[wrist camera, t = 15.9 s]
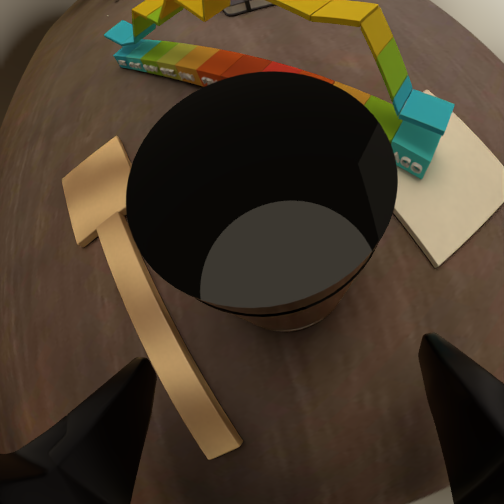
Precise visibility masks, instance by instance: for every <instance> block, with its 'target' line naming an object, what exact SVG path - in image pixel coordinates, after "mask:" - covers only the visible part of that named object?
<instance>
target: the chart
mask: <svg viewBox="0 0 504 504" xmlns="http://www.w3.org/2000/svg"><path fill="white" fill-rule="evenodd" d="M265 1H268V2H270V3H272V4H275V5H277V6H279V7H282V8H284V9H286V10H288V11H290V12H292V13H295V14H297V15H299V16H301V17H303V18H305V19H307V20H309V21H311V22H322V23H332V24H340V25H348V26H355V27H360V26H361V31H362V33H363V35H364V37H365V39H366V41H367V44H368V46H369V48H370V50H371V52H372V54H373V57H374V59H375V61H377V62H376V63H377V66H378V68H379V70H380V73H381V75H382V77H383V80H384V82H385V85H386V87H387V90H388V93H389V95H390V98H391V101H392V102H393V105H392V104H390V103H388V102H386V101H384V100H381V99H379V98H377V97H374V96H372V95H369V94H367V93H364V92H362V91H359V90H357V89H354V88H352V87H349V86H347V85H344V84H342V83H339V82H335V81H333V80H331V79H328V78H325V77H322V76H319V75H316V74H313V73H310V72H307V71H304V70H301V69H298V68H294V67H291V66H287V65H284V64H280V63H277V62H273V61H269V60H266V59H262V58H258V57H253V56H249V55H244V54H240V53H236V52H231V51H226V50H221V49H215V48H209V47H204V46H197V45H191V44H183V43H175V42H167V41H157V40H145V39H143V38H144V37H145V36H146V35H148V34H149V33H150V32H152V31H153V30H154V29H155V28H156V25H158V26H160V25H161V24H163V23H164V22H165V21H167V20H168V19H170V18H171V17H173V16H174V15H175V14H177V13H178V12H180V11H181V10H183V8H185V9H187V10H188V11H189V12H191V13H192V14H194V15H195V16H197V17H198V18H199V19H201V20H202V21H203V22H204V21H205V22H206V21H207V20H209V19H210V18H212V17H213V16H214V15H216V14H217V13H219V12H220V11H222V10H223V9H225V8H227V7H228V6H230V0H145V1H144V2H142V3H141V4H139V5H138V6H136V7H135V8H133V9H132V24H130V23H128V22H126V21H124V20H122V21H121V22H119V23H118V24H117V25H115V26H114V27H113V28H112V29H110V30H109V31H108V32H106V33H105V34H104V36H105V37H106V38H108V39H110V40H112V41H114V42H115V43H117V44H119V45H121V46H124V47H122V48H121V49H120V50H119V51H118V52H117V53H115V54H114V55H113V56H114V57H115V59H116V60H117V62H118V63H119V65H120V66H121V67H122V68H128V69H134V70H138V71H143V72H148V73H152V74H157V75H161V76H165V77H169V78H173V79H177V80H181V81H185V82H189V83H193V84H196V85H200V86H203V87H205V86H207V85H210V84H212V83H214V82H217V81H220V80H223V79H226V78H229V77H233V76H237V75H241V74H247V73H254V72H267V71H278V72H291V73H297V74H303V75H307V76H311V77H315V78H318V79H321V80H323V81H326V82H328V83H331V84H333V85H335V86H337V87H339V88H341V89H342V90H344V91H346V92H347V93H349V94H350V95H352V96H353V97H354V98H356V99H357V100H358V101H360V102H361V103H362V104H363V105H364V106H365V107H366V108H367V109H368V110H369V111H370V112H371V113H372V114H373V115H374V117H375V118H376V119H377V121H378V122H379V123H380V125H381V126H382V128H383V130H384V131H385V133H386V135H387V137H388V139H389V141H390V144H391V146H392V149H393V152H394V156H395V160H396V165H397V166H399V167H400V168H402V169H404V170H406V171H408V172H409V173H411V174H413V175H415V176H416V177H418V178H420V179H421V180H422V178H423V177H424V175H425V173H426V171H427V169H428V167H429V165H430V163H431V160H432V158H433V156H434V153H435V151H436V148H437V146H438V143H439V141H440V138H441V136H443V135H444V133H445V130H446V128H447V125H448V122H449V119H450V117H451V114H452V111H453V108H454V105H455V104H452V103H450V102H447V101H445V100H442V99H440V98H437V97H434V96H432V95H429V94H426V93H423V92H420V91H417V90H414V89H413V91H412V85H411V82H410V79H409V76H407V75H408V73H407V71H406V68H405V65H404V62H403V60H402V57H401V55H400V52H399V49H398V47H397V45H396V42H395V40H394V37H393V35H392V33H391V30H390V28H389V26H388V24H387V21H386V19H385V17H384V15H383V13H382V11H381V9H380V7H379V8H378V4H373V3H365V2H357V1H347V0H265ZM411 92H412V93H411ZM407 99H408V100H407ZM406 101H407V102H406ZM402 108H403V109H402Z"/></svg>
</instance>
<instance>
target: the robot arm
mask: <svg viewBox="0 0 504 504" xmlns="http://www.w3.org/2000/svg"><path fill="white" fill-rule="evenodd" d="M418 357H419V362H420V367H421V371H422V376H423V381H424V386H425V391H426V395H427V400H428V403H429V406H430V410H431V413H432V416H433V420H434V423H435V426H436V430H437V433H438V437H439V441H440V444H441V448H442V452H443V456H444V460H445V464H446V469H447V473H448V477H449V482H450V487H451V492H452V497H453V502H454V504H504V384H503V383H502V382H501V381H500V380H498V379H497V378H496V377H494V376H493V375H492V374H490V373H489V372H488V371H487V370H485V369H484V368H483V367H481V366H480V365H479V364H477V363H476V362H475V361H473V360H472V359H471V358H469V357H468V356H467V355H465V354H464V353H463V352H461V351H460V350H459V349H457V348H456V347H455V346H453V345H452V344H451V343H449V342H448V341H447V340H445V339H444V338H442V337H441V336H440V335H438V334H437V333H434V332H433V333H428V334H425V335H423V337H422V341H421V345H420V349H419V354H418ZM156 381H157V376H156V373H155V371H154V369H153V367H152V365H151V363H150V361H149V360H148V359H147V358H142V357H137V358H135V359H133V360H132V361H131V362H130V363H129V364H127V365H126V366H125V367H124V368H123V369H121V370H120V371H119V372H118V373H117V374H115V375H114V376H113V377H112V378H111V379H109V380H108V381H107V382H106V383H105V384H103V385H102V386H101V387H100V388H99V389H97V390H96V391H95V392H94V393H93V394H91V395H90V396H89V397H88V398H87V399H85V400H84V401H83V402H82V403H81V404H79V405H78V406H77V407H76V408H75V409H73V410H72V411H71V412H70V413H69V414H68V415H67V416H65V417H64V418H62V419H61V420H60V421H59V422H58V423H56V424H55V425H54V426H52V427H51V428H50V429H49V430H47V431H46V432H44V433H43V434H42V435H40V436H39V437H37V438H36V439H34V440H33V441H31V442H30V443H28V444H27V445H25V446H24V447H22V448H21V449H19V450H17V451H15V452H13V453H9V454H0V504H130V502H131V498H132V493H133V489H134V484H135V480H136V475H137V471H138V467H139V463H140V459H141V454H142V450H143V446H144V442H145V438H146V434H147V430H148V426H149V423H150V418H151V413H152V407H153V400H154V393H155V387H156Z"/></svg>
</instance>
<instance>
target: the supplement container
mask: <svg viewBox="0 0 504 504" xmlns="http://www.w3.org/2000/svg"><path fill="white" fill-rule="evenodd" d="M397 187H398V175H397V166H396V160H395V156H394V152H393V149H392V146H391V144H390V141H389V139H388V137H387V135H386V133H385V131H384V130H383V128H382V126H381V125H380V123H379V122H378V121H377V119H376V118H375V117H374V115H373V114H372V113H371V112H370V111H369V110H368V109H367V108H366V107H365V106H364V105H363V104H362V103H361V102H360V101H358V100H357V99H356V98H354V97H353V96H352V95H350V94H349V93H347V92H346V91H344V90H342V89H341V88H339V87H337V86H335V85H333V84H331V83H328V82H326V81H323V80H321V79H318V78H315V77H311V76H307V75H303V74H297V73H291V72H278V71H267V72H254V73H247V74H241V75H237V76H233V77H229V78H226V79H223V80H220V81H217V82H214V83H212V84H210V85H207V86H205V87H203V88H201V89H199V90H197V91H196V92H194V93H192V94H191V95H189V96H187V97H186V98H184V99H183V100H181V101H180V102H179V103H177V104H176V105H175V106H174V107H172V108H171V109H170V110H169V111H168V112H167V113H166V114H165V115H164V116H163V117H162V118H161V119H160V120H159V121H158V122H157V123H156V124H155V125H154V127H153V128H152V129H151V130H150V132H149V133H148V135H147V136H146V138H145V139H144V141H143V142H142V144H141V146H140V148H139V149H138V152H137V154H136V156H135V158H134V161H133V164H132V166H131V169H130V173H129V177H128V182H127V189H126V211H127V218H128V223H129V228H130V231H131V234H132V236H133V239H134V241H135V243H136V245H137V247H138V249H139V251H140V253H141V254H142V256H143V257H144V259H145V260H146V261H147V263H148V264H149V265H150V266H151V267H152V268H153V270H154V271H155V272H156V273H158V274H159V275H160V276H161V277H162V278H163V279H164V280H166V281H167V282H168V283H170V284H171V285H172V286H174V287H175V288H177V289H179V290H181V291H183V292H184V293H186V294H188V295H190V296H192V297H194V298H196V299H197V300H199V301H201V302H203V303H204V304H206V305H208V306H210V307H213V308H215V309H218V310H220V311H223V312H227V313H230V314H233V315H235V316H237V317H239V318H241V319H244V320H246V321H248V322H250V323H252V324H255V325H257V326H259V327H261V328H264V329H267V330H271V331H278V332H292V331H298V330H302V329H305V328H308V327H311V326H313V325H315V324H317V323H318V322H320V321H321V320H323V319H324V318H325V317H327V316H328V315H329V314H330V313H331V312H332V311H333V310H334V309H335V307H336V306H337V305H338V303H339V302H340V300H341V299H342V297H343V296H344V294H345V293H346V291H347V290H348V288H349V287H350V285H351V284H352V282H353V280H354V279H355V278H356V277H357V275H358V274H359V273H360V272H361V271H362V270H363V268H364V267H365V265H366V264H367V262H368V261H369V260H370V258H371V256H372V254H373V253H374V251H375V249H376V247H377V245H378V243H379V241H380V239H381V238H382V236H383V234H384V232H385V230H386V228H387V226H388V224H389V222H390V219H391V216H392V213H393V211H394V207H395V202H396V197H397Z"/></svg>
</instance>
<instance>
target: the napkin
mask: <svg viewBox="0 0 504 504" xmlns="http://www.w3.org/2000/svg"><path fill="white" fill-rule="evenodd" d="M423 93H426V94H429V95H432V96H434V95H433V94H432V93H431V92H430V91H428V90H426V91H424V92H423ZM434 97H435V96H434ZM406 102H407V101H406ZM402 109H403V108H402ZM396 166H397V165H396ZM397 175H398V187H397V197H396V202H395V207H394V211H393V213H394V214H395V216H396V217H397V218H398V219H399V221H400V222H401V223H402V224H403V226H404V227H405V228H406V230H407V231H408V232H409V233H410V235H411V236H412V237H413V239H414V240H415V241H416V243H417V244H418V245H419V247H420V248H421V249H422V251H423V252H424V254H425V255H426V256H427V258H428V259H429V260H430V262H431V263H432V265H433V266H434V268H437V267H438V266H440V265H441V264H442V263H443V262H444V261H445V260H446V259H447V258H448V257H450V256H451V255H452V254H453V253H454V252H455V251H456V250H457V249H458V248H459V247H460V246H461V245H462V244H463V243H464V242H466V241H467V240H468V239H469V238H470V237H471V236H472V235H473V234H474V233H475V232H476V231H477V230H478V229H479V228H480V227H481V226H482V225H483V224H484V223H485V222H486V221H487V220H488V219H489V218H490V216H491V215H492V214H493V213H494V212H495V211H496V210H497V209H498V208H499V207H500V206H501V205H502V204H503V203H504V167H503V165H502V164H501V163H500V162H499V161H498V159H497V158H496V157H495V156H494V155H493V154H492V152H491V151H490V150H489V149H488V148H487V147H486V146H485V145H484V143H483V142H482V141H481V140H480V139H479V138H478V137H477V136H476V135H475V134H474V133H473V132H472V131H471V130H470V129H469V128H468V127H467V126H466V125H465V124H464V123H463V122H462V121H461V120H460V119H459V118H458V117H457V116H456V115H455V114H454V113H453V112H452V114H451V117H450V119H449V122H448V125H447V128H446V130H445V133H444V135H443V136H441V138H440V141H439V143H438V146H437V148H436V151H435V153H434V156H433V158H432V160H431V163H430V165H429V167H428V169H427V171H426V173H425V175H424V177H423V178H422V180H421V179H420V178H418V177H416V176H415V175H413V174H411V173H409V172H408V171H406V170H404V169H402V168H400V167H399V166H397Z"/></svg>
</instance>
